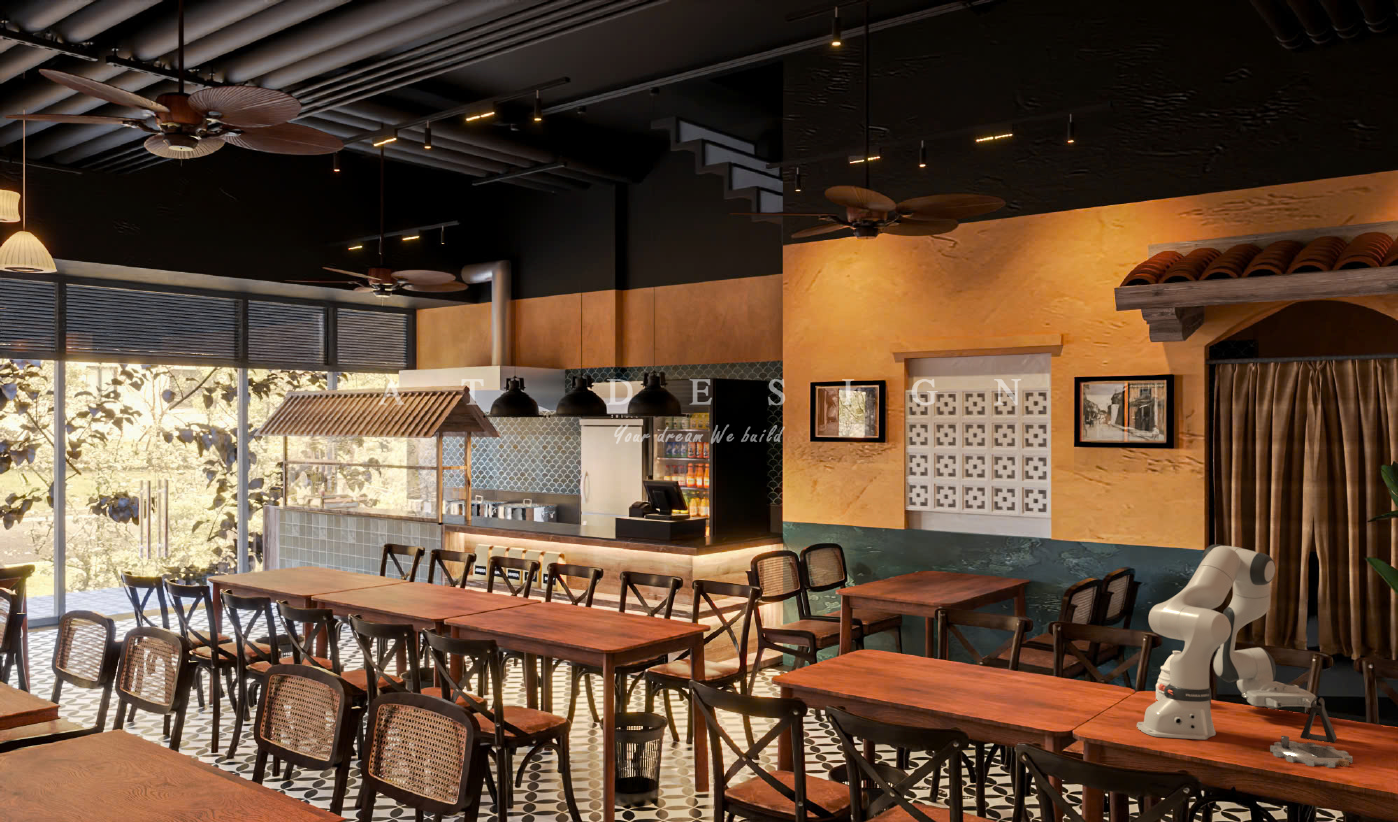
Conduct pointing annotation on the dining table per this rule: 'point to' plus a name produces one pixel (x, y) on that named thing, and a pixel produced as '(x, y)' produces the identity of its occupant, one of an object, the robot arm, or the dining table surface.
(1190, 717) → the robot arm
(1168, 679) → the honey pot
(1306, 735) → the dark grey triangular bracket
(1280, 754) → the sprocket
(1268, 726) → the dining table surface
